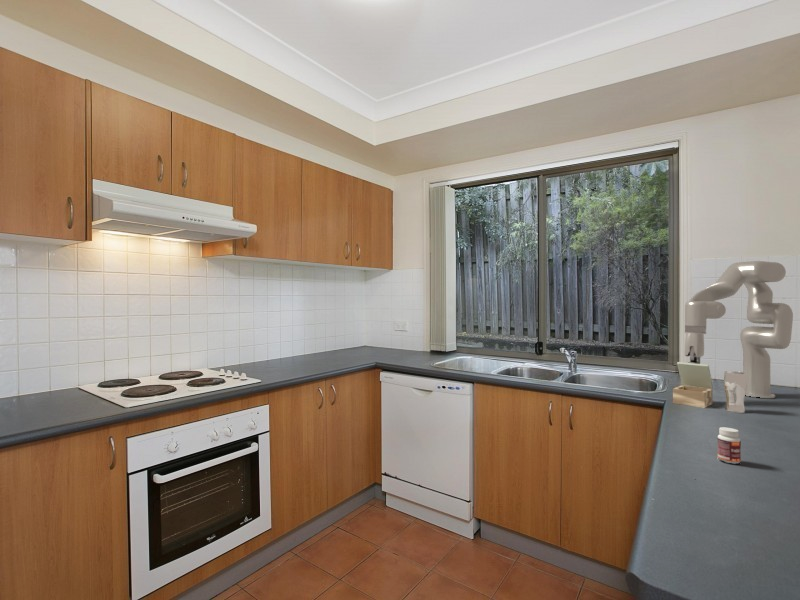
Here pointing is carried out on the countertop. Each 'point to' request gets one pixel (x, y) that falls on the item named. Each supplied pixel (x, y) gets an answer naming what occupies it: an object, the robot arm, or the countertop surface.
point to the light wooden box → (693, 396)
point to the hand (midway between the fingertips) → (695, 373)
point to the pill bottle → (729, 445)
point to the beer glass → (735, 391)
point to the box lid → (695, 374)
